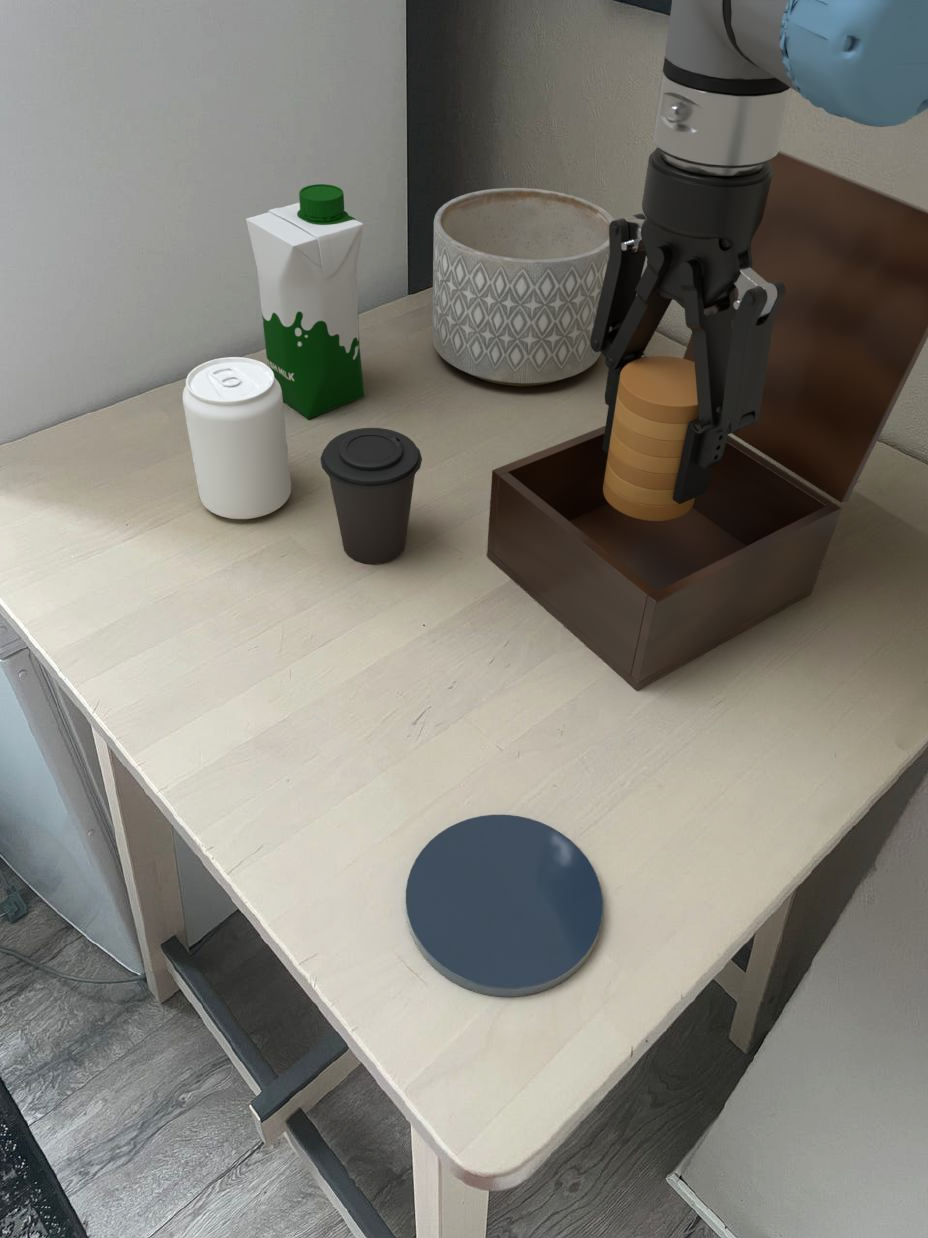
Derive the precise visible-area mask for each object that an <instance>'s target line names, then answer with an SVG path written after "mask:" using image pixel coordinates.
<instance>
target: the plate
mask: <svg viewBox="0 0 928 1238" xmlns="http://www.w3.org/2000/svg"><path fill="white" fill-rule="evenodd" d="M405 915H406V921H407V925H408V929H409V933H410V935H411V937H412V940H413V942H414V944H415V946H416V948H417V949H418V950H419V952H420V954H421V955H422V956H423V958H424V959H425V960H426V961H427V962H428V963H429V964H430V966H431V967H432V968H434V969H435V971H437V972H438V973H439V974H440V975H441V976H443V977H445V978H446V979H448V980H449V981H450V982H452V983H453V984H455V985H458V986H460V987H461V988H463V989H467V990H469V991H472V992H475V993H479V994H483V995H487V996H492V997H502V998H509V997H511V998H514V997H524V996H530V995H534V994H538V993H541V992H544V991H547V990H549V989H552V988H554V987H556V986H558V985H559V984H561V983H562V982H564V981H565V980H567V979H568V978H570V977H571V976H572V975H573V974H575V973H576V972H577V971H578V970H579V969H580V968H581V967H582V965H583V964H585V962H586V961H587V959H588V957H590V955H591V953H592V952H593V949H594V947H595V945H596V943H597V941H598V937H599V934H600V930H601V926H602V921H603V915H604V898H603V892H602V888H601V884H600V881H599V877H598V875H597V873H596V871H595V869H594V867H593V865H592V863H591V862H590V861H589V859H588V857H587V856H586V855H585V854H584V852H583V851H582V850H581V849H580V847H579V846H578V845H576V844H575V843H574V842H573V841H572V839H570V838H569V837H567V836H566V835H564V834H563V833H562V832H560V831H558V830H557V829H555V828H553V827H552V826H550V825H548V824H545V823H543V822H541V821H539V820H535V819H532V818H529V817H524V816H520V815H513V814H486V815H479V816H475V817H471V818H467V819H465V820H462V821H459V822H457V823H454V824H453V825H452V824H451V826H449V827H447V828H445V829H444V830H442V831H440V832H439V833H437V834H436V835H435V836H434V837H433V838H432V839H430V840H429V842H427V844H425V846H424V847H423V848H422V849H421V851H419V854H418V855H417V857H416V858H415V860H414V861H413V864H412V866H411V868H410V871H409V874H408V878H407V881H406V888H405Z"/></svg>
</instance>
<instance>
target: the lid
mask: <svg viewBox="0 0 928 1238" xmlns="http://www.w3.org/2000/svg"><path fill="white" fill-rule="evenodd" d="M769 162H770V164H771V166H772V168H773V176H772V180H771V184H770V189H769V193H768V197H767V202H766V206H765V211H764V215H763V219H762V221H761V223H760V225H759V227H758V229H757V230H756V232H755V234H754V236H753V238H752V241H751V257H752V270H754V271H755V272H756V273H757V274H758V275H759V276H761V277H762V278H763V279H764V280H765V281H767V282H768V283H770V282H773V281H776V280H779V281H781V282H783V284H784V285H785V288H786V293H785V296H784V298H783V301H782V303H781V305H780V307H779V309H778V311H777V313H776V315H775V317H774V321H773V327H772V334H771V341H770V348H769V354H768V361H767V368H766V375H765V382H764V388H763V395H762V402H761V409H760V415H759V420H758V422H757V423H755V424H753V425H750V426H748V427H746V428H743V429H741V430H738V431H736V432H734V433H731V434H732V435H733V436H735V437H736V438H738V439H740V440H741V441H743V442H745V443H746V444H748V445H749V446H750V447H752V448H754V449H756V450H757V451H759V452H760V453H762V454H763V455H765V456H766V457H768V458H770V459H771V460H773V461H774V462H776V463H777V464H779V465H780V466H782V467H784V468H785V469H787V470H788V471H790V472H792V473H793V474H795V475H796V476H798V477H800V478H801V479H803V480H805V481H806V482H808V483H809V484H811V485H813V486H814V487H816V488H817V489H819V490H820V491H822V492H823V493H825V494H827V495H828V496H829V497H831V498H833V499H834V500H836V501H837V502H839V503H840V504H842V503H843V504H844V503H846V502H848V501H849V499H850V497H851V495H852V493H853V491H854V490H855V487H856V485H857V483H858V481H859V478H860V477H861V475H862V472H863V470H864V469H865V467H866V465H867V462H868V460H869V458H870V456H871V454H872V452H873V450H874V448H875V447H876V444H877V442H878V441H879V438H880V436H881V433H882V432H883V430H884V427H885V426H886V424H887V422H888V420H889V418H890V416H891V414H892V411H893V409H894V407H895V405H896V403H897V401H898V399H899V398H900V395H901V393H902V391H903V388H904V387H905V385H906V383H907V381H908V379H909V377H910V376H911V375H910V374H911V373H912V370H913V369H914V367H915V364H916V363H917V360H918V358H919V356H920V354H921V352H922V350H923V348H924V347H925V344H926V342H927V340H928V209H926V208H924V207H922V206H919V205H916V204H914V203H911V202H909V201H906V200H904V199H901V198H899V197H897V196H894V195H891V194H889V193H886V192H884V191H881V190H879V189H876V188H874V187H871V186H869V185H867V184H864V183H861V182H859V181H856V180H854V179H851V178H849V177H846V176H844V175H841V174H839V173H836V172H835V171H832V170H830V169H826V168H824V167H822V166H819V165H817V164H814V163H812V162H809V161H806V160H804V159H802V158H799V157H797V156H795V155H792V154H789V153H787V152H784V151H782V150H779V152H778V154H777V155H776V156H775V157H774V158H772V159H771V160H769ZM735 300H738V289H737V288H735ZM715 306H716V305H715ZM715 306H712V307H710V308H707V309H704V312H705V311H708V310H711V309H714V308H715ZM736 312H737V310H736ZM735 315H736V314H735ZM734 318H735V317H734ZM734 318H733V320H732V326H733V321H734ZM682 359H686V360H690V361H692V362H694V350H693V338H692V334H691V335H690V337H689V340H688V343H687V346H686V349H685V351H684V354H683V358H682ZM718 407H719V406H718Z"/></svg>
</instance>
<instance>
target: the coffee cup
mask: <svg viewBox="0 0 928 1238" xmlns="http://www.w3.org/2000/svg"><path fill="white" fill-rule="evenodd" d="M422 457H423V456H422V454H421V451H420V449H419V448H418V446H417V445H416V443H415V442H414V441H413V440H412V439H411V438H409V437H408V436H407V435H406V434H403V433H400V432H399V431H395V430H392V429H388V428H383V427H361V428H355V429H350V430H348V431H345V432H343V433H340V434H338V435H336V436H335V437H333V438H332V439H331V440H330V441H329V442H328V443H327V444H326V446H325V447H324V448H323V450H322V453H321V456H320V458H319V459H320V464H321V468H322V470H323V471H324V472H325V474H326V475H327V476H328V478H329V483H330V488H331V493H332V497H333V502H334V507H335V512H336V517H337V522H338V527H339V528H338V529H339V533H340V537H341V542H342V546H343V551H344V553H345V554H346V555H347V556H348V557H349V558H350V559H352V560H354V561H355V562H358V563H361V564H363V565H364V564H365V565H382V564H385V563H390V562H392V561H394V560H396V559H398V558H399V557H400V556H401V555H403V553H404V551H405V548H406V544H407V535H408V528H409V521H410V513H411V506H412V500H413V499H412V498H413V492H414V484H415V483H414V482H415V476H416V474H417V472H418V471H419V470H420V468H421V466H422V461H423V458H422Z"/></svg>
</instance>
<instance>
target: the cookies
mask: <svg viewBox="0 0 928 1238" xmlns="http://www.w3.org/2000/svg"><path fill="white" fill-rule="evenodd" d="M643 357H644V356H643ZM698 418H699V413H698V400H697V388H696V375H695V363H694V362H692V361H690V360H686V359H683V358H682V357H676V356H668V355H652V356H647V357H644V358H640V359H637V360H634V361H632V362H630V363H628V364H627V365H626V366H625V367H624V368H623V369H622V371H621V374H620V379H619V386H618V393H617V399H616V406H615V412H614V419H613V426H612V432H611V439H610V445H609V452H608V459H607V465H606V472H605V478H604V485H603V493H604V496H605V498H606V500H607V501H608V502H609V504H610V505H611V506H613V507H614V508H615V509H616V510H618V511H620V512H621V513H623V514H625V515H628V516H630V517H633V518H637V519H641V520H648V521H665V520H671V519H675V518H678V517H680V516H682V515H684V514H685V513H687V512H688V511H689V510H690V509H691V508H692V506H693V504H694V500H695V498H693V499H691V500H688V501H686V502H684V503H682V504H678V503H677V502H675V501H674V500H673V494H674V490H675V485H676V480H677V475H678V470H679V466H680V461H681V456H682V451H683V446H684V442H685V437H686V432H687V427H688V422H691V421H693V420H695V419H698Z"/></svg>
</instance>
